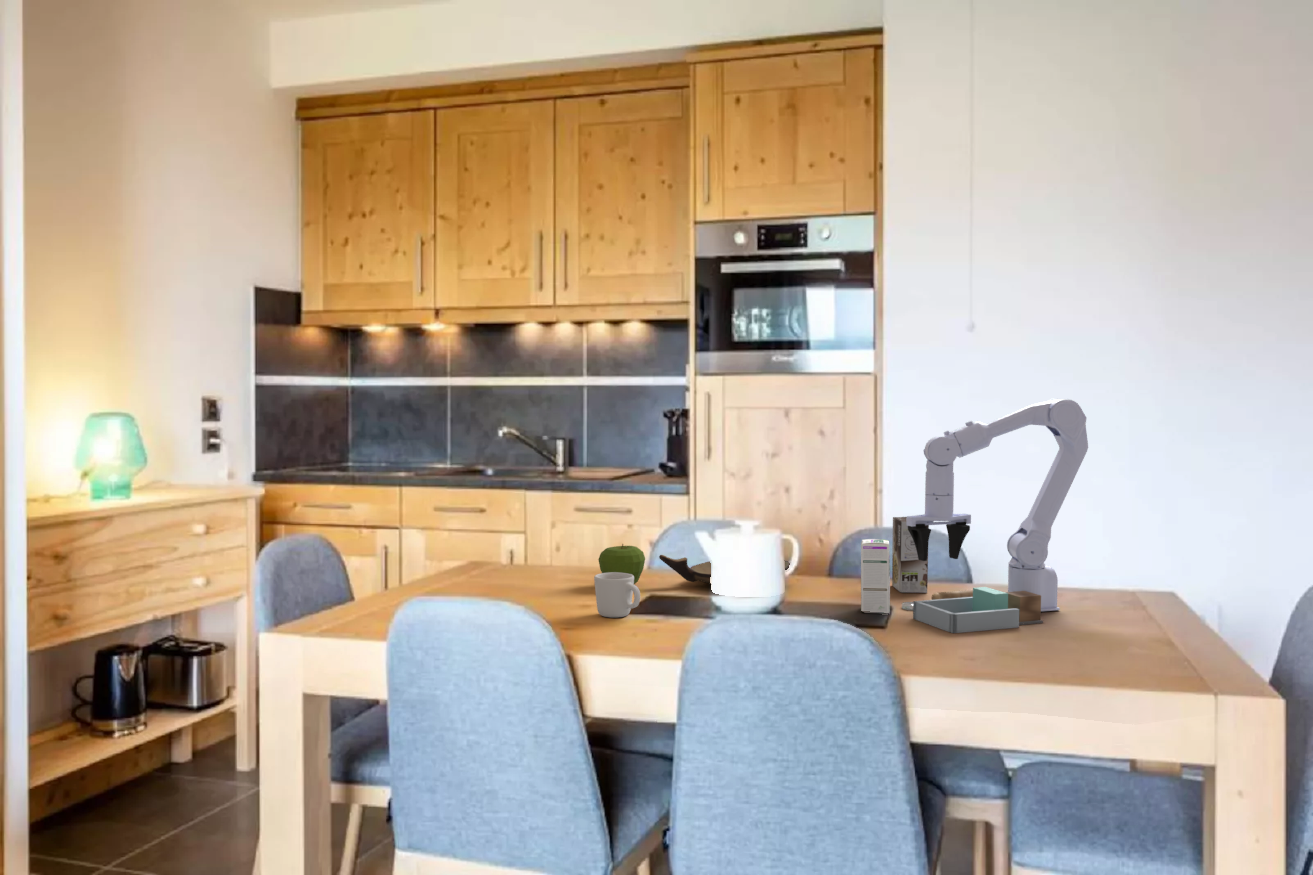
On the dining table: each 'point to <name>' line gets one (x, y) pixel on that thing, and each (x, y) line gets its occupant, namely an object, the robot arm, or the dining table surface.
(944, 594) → the dowel
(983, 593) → the green block
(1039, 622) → the strips
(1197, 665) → the dining table surface
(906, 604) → the washer
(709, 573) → the oil lamp
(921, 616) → the tray
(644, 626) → the dining table surface
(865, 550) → the syrup box
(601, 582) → the cup
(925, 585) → the coffee box
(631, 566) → the apple
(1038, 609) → the cube
